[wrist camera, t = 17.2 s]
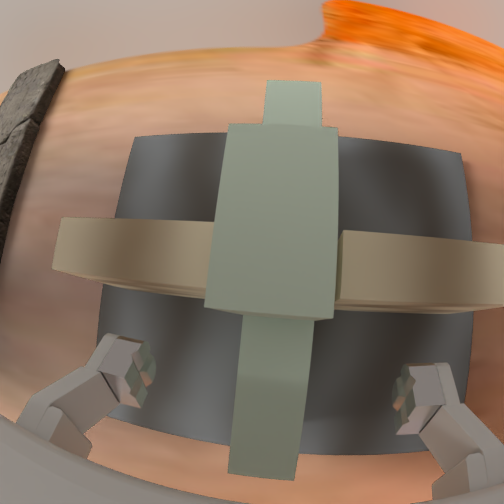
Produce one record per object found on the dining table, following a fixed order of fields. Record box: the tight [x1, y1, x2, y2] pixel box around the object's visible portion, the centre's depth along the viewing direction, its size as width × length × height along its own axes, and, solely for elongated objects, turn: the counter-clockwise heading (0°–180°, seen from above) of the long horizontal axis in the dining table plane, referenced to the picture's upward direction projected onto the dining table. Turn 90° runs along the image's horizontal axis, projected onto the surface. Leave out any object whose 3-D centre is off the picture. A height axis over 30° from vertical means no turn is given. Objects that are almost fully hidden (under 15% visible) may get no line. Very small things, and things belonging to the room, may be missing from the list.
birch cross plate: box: [51, 133, 504, 455], centre depth 15 cm, size 24×20×9 cm
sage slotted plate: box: [204, 80, 339, 481], centre depth 12 cm, size 16×2×12 cm, turn 175°
